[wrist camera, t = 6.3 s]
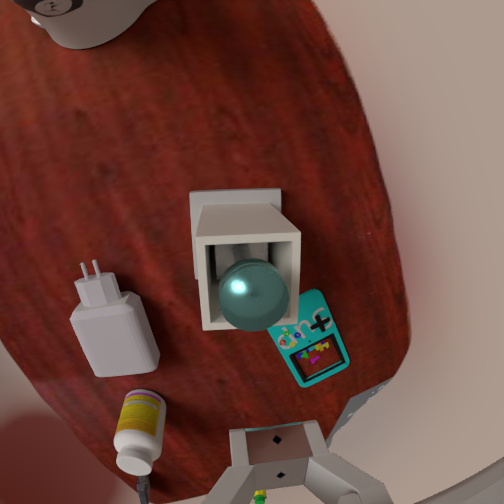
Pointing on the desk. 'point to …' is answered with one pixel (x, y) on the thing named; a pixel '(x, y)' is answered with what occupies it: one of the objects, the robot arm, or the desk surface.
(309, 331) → the handheld gaming console
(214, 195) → the press housing
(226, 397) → the desk surface
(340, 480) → the robot arm
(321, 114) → the desk surface
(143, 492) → the mini dv tape
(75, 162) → the desk surface
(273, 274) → the plunger
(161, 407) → the supplement bottle
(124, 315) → the charger
